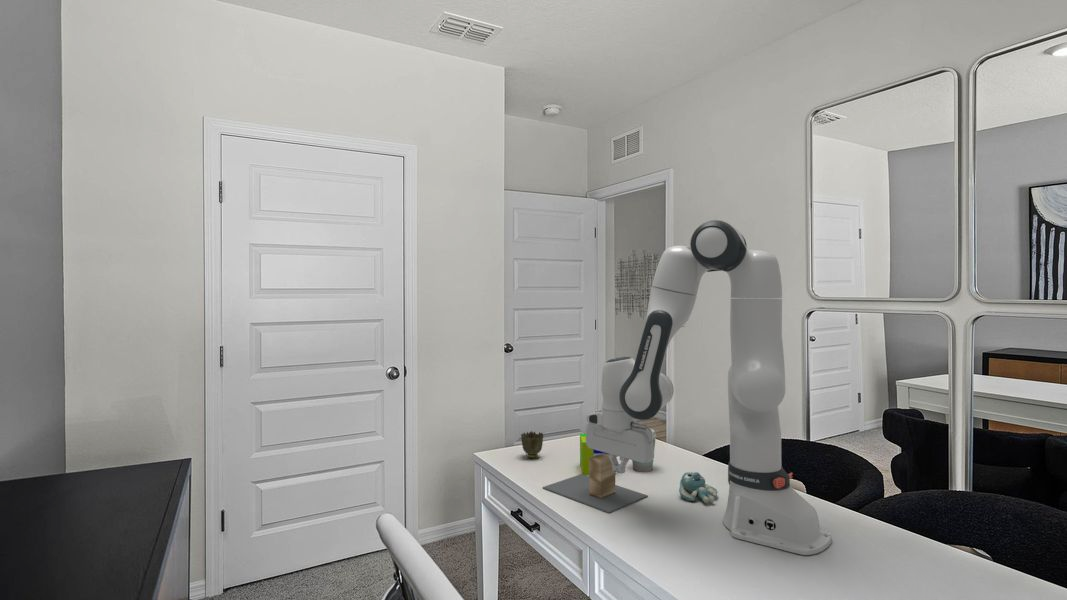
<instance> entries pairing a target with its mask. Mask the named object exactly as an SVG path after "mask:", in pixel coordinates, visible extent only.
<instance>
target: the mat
mask: <svg viewBox="0 0 1067 600" xmlns="http://www.w3.org/2000/svg"><path fill="white" fill-rule="evenodd" d="M542 489H543V490H546V491H548V492H552V493H553V494H556V495H559V496H562V497H564V498H567V499H569V500H572V501H575V502H577V503H580V504H582V505H586V506H588V507H591V508H593V509H596V510H598V511H601V512H604V513H606V514H608V515H609V514H612V513H615V512H617V511H618V510H621V509H623V508H626V507H628V506H630V505H633V504H635V503H637V502H639V501H642V500H644V499H646V498H649V495H648V494H645V493H643V492H638V491H635V490H633V489H629V488H626V487H623V486H621V485H617V484H615V494H612V495H610V496H607V497H605V498H602V499H599V498H597V497H594V496H591V495H589V475H583V474H582V473H581V474H577V475H574V476H572V477H568V478H565V479H563V480H560V481H556V482H554V483H551V484H547V485H545V486H542Z"/></svg>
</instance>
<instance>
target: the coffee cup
mask: <svg viewBox="0 0 1067 600" xmlns="http://www.w3.org/2000/svg"><path fill="white" fill-rule="evenodd" d="M649 428H650V427H649ZM647 430H648V429H647ZM650 430H651V431H652V440H653V446H654V449H656V446H655V445H656V439H657V434H656V431H655V429H653V428H650ZM631 461H632V469H633V470H635V471H637V472H641V473H648V472H651V471H653V467H654V459H653V460H652V461H650V462H648V463H641V462H638V461H634V460H631Z"/></svg>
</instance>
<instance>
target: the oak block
mask: <svg viewBox="0 0 1067 600" xmlns="http://www.w3.org/2000/svg"><path fill="white" fill-rule="evenodd" d="M588 476H589V495H591V496H594V497H597V498H599V499H602V498H605V497H607V496H610V495H612V494H615V485H616V475H615V472H614V471H612V464H611V461H610V459H609V455H608V454H605V453H603V454H600V455H596V456H593V457H590V458H589V475H588Z"/></svg>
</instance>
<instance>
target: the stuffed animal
mask: <svg viewBox="0 0 1067 600" xmlns="http://www.w3.org/2000/svg"><path fill="white" fill-rule="evenodd" d="M679 481H680V482H679V488H678V489H679V490H678V492H679V494H680V497H681V498H683V499H684V500H686V501H689V502H696V500H697V498H696V497H697V496H698V498H699V499H701V500H702V502H703V503H704V504H709V503H712V504H714V503H715V501H716V497H717V494H718V493H719V492H718V489H717V488H715V487H713V486H711V485H709V484H707V483H706V479H705V478H704V476H703V475H702V474H700V472H699V471H692V472H685V473H683V474H682V476H681V479H680V480H679Z"/></svg>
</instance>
